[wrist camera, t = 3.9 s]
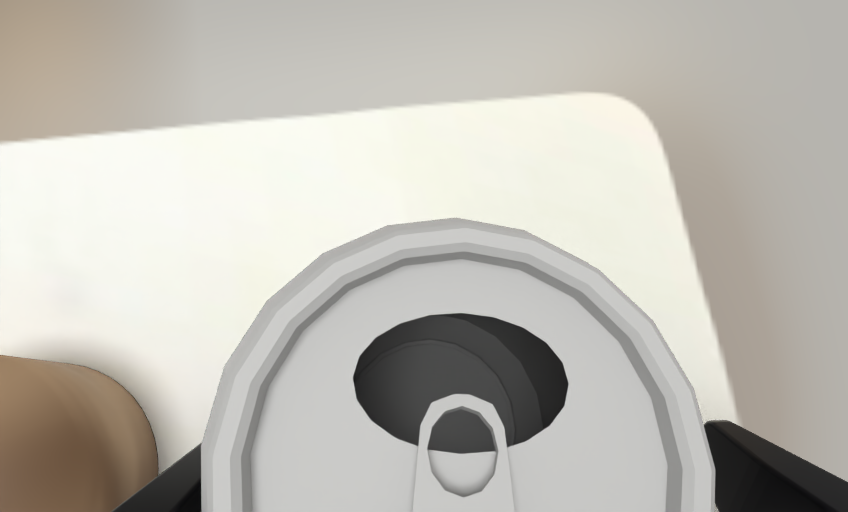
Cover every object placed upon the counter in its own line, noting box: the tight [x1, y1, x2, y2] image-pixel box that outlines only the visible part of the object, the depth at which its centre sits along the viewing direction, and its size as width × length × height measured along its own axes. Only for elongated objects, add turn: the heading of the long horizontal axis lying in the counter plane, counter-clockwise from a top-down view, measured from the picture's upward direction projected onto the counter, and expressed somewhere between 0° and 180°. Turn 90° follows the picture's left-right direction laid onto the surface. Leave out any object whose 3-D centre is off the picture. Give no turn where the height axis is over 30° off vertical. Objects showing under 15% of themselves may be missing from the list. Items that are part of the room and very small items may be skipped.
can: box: [201, 218, 715, 512], centre depth 12 cm, size 8×8×12 cm
